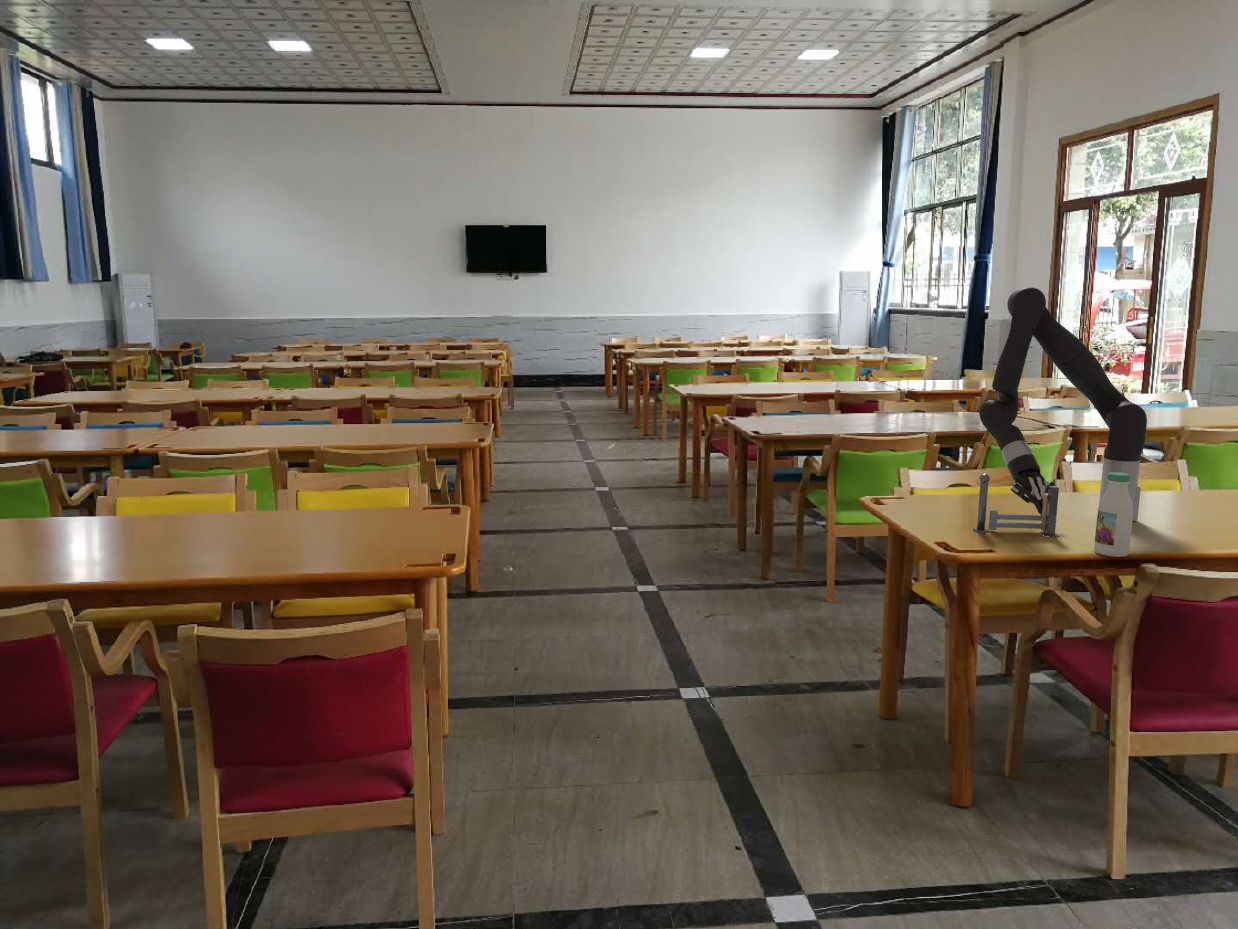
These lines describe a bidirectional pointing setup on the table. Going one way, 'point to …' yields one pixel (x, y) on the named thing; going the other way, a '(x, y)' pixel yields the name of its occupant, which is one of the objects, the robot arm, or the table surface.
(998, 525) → the gate
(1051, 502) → the post
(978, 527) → the hinge post
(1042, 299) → the robot arm
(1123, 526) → the milk bottle
